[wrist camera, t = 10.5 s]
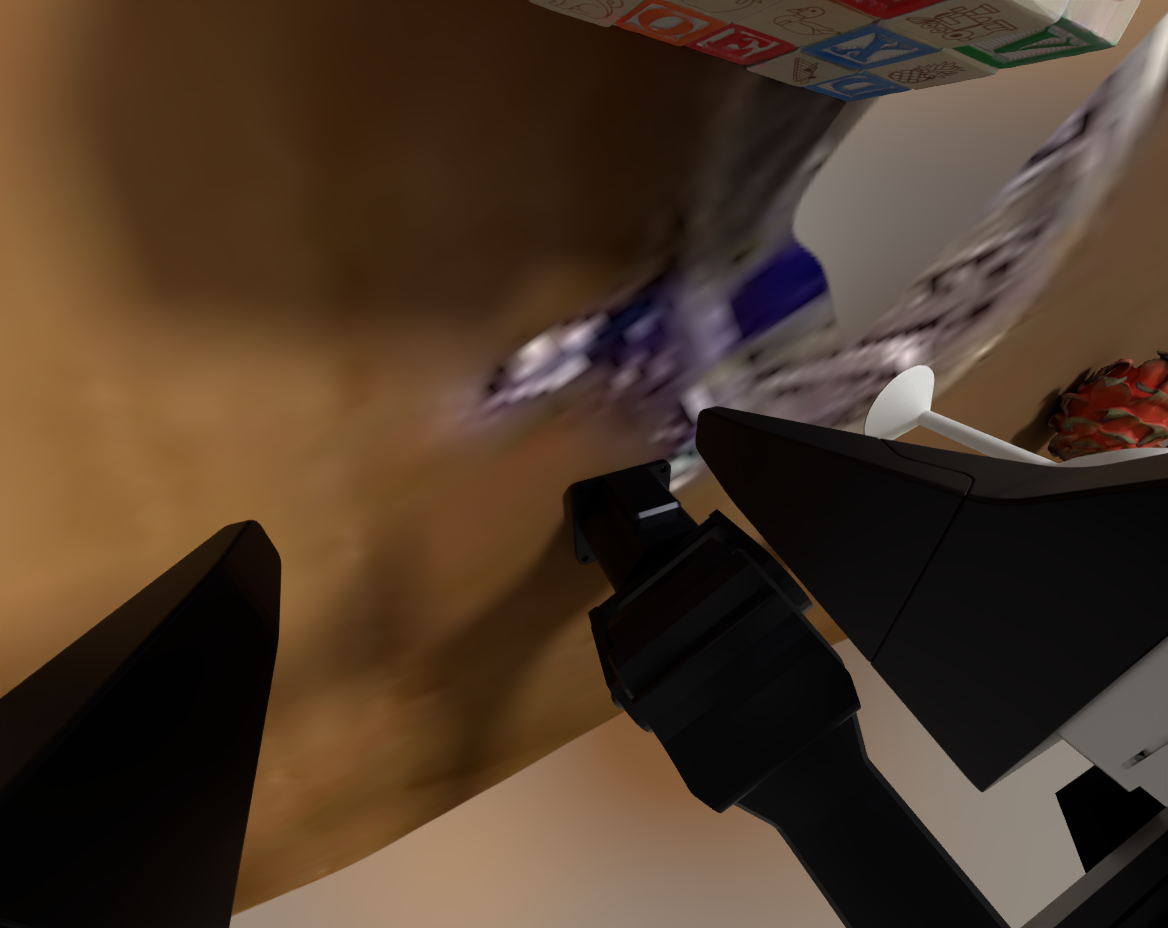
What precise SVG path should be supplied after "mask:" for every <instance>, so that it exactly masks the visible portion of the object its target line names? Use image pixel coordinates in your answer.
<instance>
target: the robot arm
mask: <svg viewBox="0 0 1168 928" xmlns="http://www.w3.org/2000/svg"><path fill="white" fill-rule="evenodd" d="M695 442H696V448H697V450H698V452H699V453H700V455H701V456H702V458H703V459H704V461H705V462H706V464H707V465H708V467H709V468H710V470H711V471H712V473H713V474H714V476H715V477H716V479H717V480H718V481H719V483H720V484H721V486H722V487H723V489H724V490H725V492H726V493H727V494H728V496H729V497H730V499H731V500H732V501H733V502H734V503H735V505H736V506H737V507H738V508H739V509H740V511H741V512H742V513H743V514H744V515H745V517H746V518H747V519H748V520H749V521H750V522H751V524H752V525H753V526H754V527H755V528H756V529H757V531H758V532H759V533H760V534H761V535H762V537H763V538H764V539H765V540H766V541H767V542H768V544H769V545H770V546H771V547H772V548H773V550H774V551H775V552H776V553H777V554H778V555H779V557H780V558H781V559H782V560H783V561H784V562H785V564H786V565H787V566H788V567H789V568H790V570H791V571H792V572H793V573H794V574H795V575H796V577H797V578H798V579H799V580H800V581H801V582H802V584H803V585H804V586H805V587H806V588H807V590H808V591H809V592H810V593H811V594H812V595H813V597H814V598H815V599H816V600H817V601H818V602H819V604H820V605H821V606H822V607H823V608H824V610H825V611H826V612H827V613H828V614H829V615H830V617H831V618H832V619H833V620H834V621H835V623H836V624H837V625H838V626H839V627H840V628H841V630H842V631H843V632H844V633H845V634H846V635H847V637H848V638H849V639H850V640H851V641H852V643H853V644H854V645H855V646H856V647H857V648H858V649H859V651H860V652H861V653H862V654H863V655H864V657H865V658H866V659H867V660H868V661H869V662H871V665H872V666H873V668H874V669H875V670H876V671H877V672H878V673H879V675H880V676H881V677H882V678H883V679H884V681H885V682H886V683H887V684H888V685H889V687H890V688H891V689H892V690H893V691H894V692H895V693H896V695H897V696H898V697H899V698H900V699H901V700H902V702H903V703H904V704H905V705H906V706H907V708H908V709H909V710H910V711H911V712H912V714H913V715H914V716H915V717H916V718H917V719H918V721H919V722H920V723H921V724H922V725H923V727H924V728H925V729H926V730H927V731H928V732H929V734H930V735H931V736H932V737H933V738H934V740H935V741H936V742H937V743H938V744H939V745H940V747H941V748H942V749H943V750H944V751H945V752H946V754H947V755H948V756H949V757H950V758H951V760H952V761H953V762H954V763H955V764H956V766H958V768H959V769H960V770H961V771H962V772H963V774H964V775H965V776H966V777H967V778H968V779H969V780H970V782H971V783H972V784H973V785H974V786H975V787H976V788H977V789H978V790H980V791H981V792H984V791H986V790H987V789H989V788H990V787H992V786H993V785H995V784H996V783H998V782H999V781H1001V780H1002V779H1004V778H1005V777H1007V776H1008V775H1010V774H1011V773H1013V772H1014V771H1016V770H1017V769H1019V768H1020V767H1022V766H1023V765H1025V764H1026V763H1028V762H1029V761H1031V760H1032V759H1033V758H1035V757H1037V756H1038V755H1040V754H1041V753H1043V752H1044V751H1046V750H1047V749H1049V748H1050V747H1051V746H1053V745H1054V744H1056V743H1057V742H1059V741H1060V740H1062V739H1063V740H1065V741H1066V742H1067V743H1068V744H1069V745H1071V746H1072V747H1073V748H1074V749H1076V750H1077V751H1078V752H1079V753H1081V754H1082V755H1083V756H1084V757H1086V758H1087V759H1088V760H1089V761H1090V762H1092V763H1093V764H1094V766H1092V767H1091V768H1090V769H1089V770H1087V771H1086V772H1084V773H1083V774H1081V775H1080V776H1079V777H1077V778H1076V779H1074V780H1073V781H1072V782H1070V783H1069V784H1067V785H1066V786H1065V787H1063V788H1062V789H1061V790H1059V791H1058V792H1056V793H1055V794H1056V796H1057V799H1058V802H1059V805H1060V807H1061V810H1062V812H1063V815H1064V817H1065V820H1066V823H1067V826H1068V828H1069V831H1070V833H1071V836H1072V839H1073V841H1074V844H1075V846H1076V849H1077V852H1078V854H1079V857H1080V860H1081V862H1082V865H1083V867H1084V870H1085V872H1086V874H1085V875H1084V876H1083V877H1082V878H1080V879H1079V880H1078V881H1077V882H1075V883H1074V884H1073V885H1072V886H1071V887H1069V888H1068V889H1067V890H1066V891H1065V892H1063V893H1062V894H1061V895H1060V896H1059V897H1057V898H1056V899H1055V900H1054V901H1053V902H1051V903H1050V904H1049V905H1048V906H1047V907H1045V908H1044V909H1043V910H1042V911H1041V912H1039V913H1038V914H1037V915H1036V916H1035V917H1033V918H1032V919H1031V920H1030V921H1028V922H1027V923H1026V924H1025V925H1024V926H1022V927H1021V928H1168V453H1164V454H1159V455H1154V456H1148V457H1143V458H1138V459H1133V460H1128V461H1122V462H1117V463H1112V464H1106V465H1100V466H1090V467H1054V466H1046V465H1038V464H1032V463H1025V462H1019V461H1012V460H1006V459H1000V458H993V457H987V456H980V455H974V454H967V453H961V452H955V451H949V450H943V449H937V448H931V447H926V446H920V445H915V444H909V443H904V442H899V441H893V440H888V439H883V438H881V439H878V438H877V437H873V436H867V435H862V434H857V433H852V432H847V431H842V430H837V429H832V428H826V427H821V426H816V425H811V424H806V423H801V422H796V421H791V420H785V419H780V418H775V417H770V416H765V415H760V414H755V413H750V412H744V411H739V410H734V409H729V408H724V407H719V406H716V407H711V408H707V409H703V410H702V411H700V413H699V415H698V421H697V430H696V440H695ZM663 466H664V467H663ZM662 467H663V468H662ZM661 468H662V469H661ZM670 473H671V465H670V464H669V463H668V462H667V461H666V460H664V459H662V460H658V461H654V462H650V463H646V464H643V465H639V466H635V467H631V468H628V469H624V470H620V471H616V472H613V473H609V474H605V475H602V476H598V477H594V478H591V479H587V480H583V481H579V482H577V483H575V484H574V485H573V486H572V487H571V501H572V514H573V526H574V538H575V551H576V558H577V560H578V562H579V563H580V564H587V563H590V562H593V561H596V560H597V561H598V562H599V564H600V566H601V568H602V569H603V571H604V573H605V575H606V577H607V578H608V580H609V582H610V584H611V585H612V587H613V589H614V591H615V592H616V593H615V594H613V595H612V596H611V597H610V598H609V599H607V600H606V601H605V602H604V603H602V604H601V605H600V606H599V607H597V606H596V607H595V608H593V609H592V610H591V611H590V612H588V614H589V618H590V622H591V625H592V626H591V629H592V633H593V636H594V640H595V644H596V647H597V651H598V655H599V658H600V662H601V666H602V669H603V673H604V676H605V680H606V684H607V686H608V688H609V690H610V691H611V698H612V701H613V702H614V704H615V705H616V706H617V707H618V708H620V709H624V710H625V711H626V712H627V713H628V715H629V716H630V717H631V718H632V719H633V720H634V722H635V723H636V724H637V725H639V726H640V727H641V728H642V729H643V730H645V731H647V732H650V733H652V732H654V733H655V735H656V736H657V738H658V739H659V741H660V742H661V743H662V745H663V747H664V748H665V750H666V751H667V753H668V755H669V756H670V758H671V760H672V761H673V763H674V765H675V766H676V768H677V770H678V772H679V773H680V775H681V777H682V778H683V780H684V782H685V783H686V785H687V787H688V789H689V790H690V792H691V793H692V794H693V795H694V796H695V797H697V798H698V799H699V800H701V801H702V802H703V803H705V804H706V805H708V806H709V807H710V808H712V809H713V810H715V811H716V812H718V813H722V812H724V811H725V810H727V809H728V808H729V807H731V806H732V805H733V804H734V805H736V806H737V807H739V808H741V809H743V810H745V811H747V812H748V813H750V814H752V815H754V816H756V817H758V818H760V819H761V820H763V821H765V822H767V823H769V824H770V825H772V826H774V827H775V828H776V829H777V831H778V832H779V833H780V835H781V836H782V837H783V839H784V840H785V841H786V843H787V844H788V845H789V847H790V848H791V850H792V851H793V853H794V854H795V855H796V857H797V858H798V860H799V861H800V863H801V864H802V865H803V867H804V868H805V870H806V871H807V873H808V874H809V875H810V877H811V878H812V880H813V881H814V883H815V884H816V885H817V887H818V888H819V890H820V891H821V892H822V894H823V895H824V897H825V898H826V900H827V901H828V903H829V904H830V905H831V907H832V908H833V910H834V911H835V912H836V914H837V915H838V917H839V918H840V920H841V921H842V923H843V924H844V925H845V927H846V928H1011V927H1010V926H1009V925H1008V924H1007V923H1006V921H1005V920H1004V919H1003V918H1002V917H1001V916H1000V914H999V913H998V912H997V911H996V910H995V909H994V907H993V906H992V905H991V904H990V902H989V901H988V900H987V899H986V898H985V896H984V895H983V894H982V893H981V892H980V891H979V889H978V888H977V887H976V886H975V885H974V883H973V882H972V881H971V880H970V879H969V877H968V876H967V875H966V874H965V873H964V872H963V870H962V869H961V868H960V867H959V866H958V864H957V863H956V862H955V861H954V860H953V859H952V857H951V856H950V855H949V854H948V852H947V851H946V850H945V849H944V848H943V847H942V845H941V844H940V843H939V842H938V841H937V839H936V838H935V837H934V836H933V835H932V833H931V832H930V831H929V830H928V829H927V827H926V826H925V825H924V824H923V823H922V822H921V820H920V819H919V818H918V817H917V816H916V814H915V813H914V812H913V811H912V810H911V808H910V807H909V806H908V805H907V804H906V802H905V801H904V800H903V799H902V798H901V797H900V796H899V794H898V793H897V792H896V791H895V789H894V788H893V787H892V786H891V785H890V783H889V782H888V781H887V780H886V779H885V778H884V776H883V775H882V774H881V773H880V772H879V770H878V769H877V768H876V767H875V766H874V765H873V763H872V762H871V761H870V760H869V758H868V756H867V753H866V749H865V745H864V741H863V737H862V733H861V729H860V725H859V721H858V717H857V713H856V712H857V711H858V710H860V709H861V705H860V701H859V698H858V696H857V692H856V689H855V686H854V684H853V681H852V678H851V675H850V674H849V672H848V671H847V670H846V668H845V666H844V664H843V661H842V659H841V658H840V656H839V655H838V654H837V652H836V651H835V650H834V649H833V648H832V647H831V646H830V645H829V643H828V642H827V641H826V640H825V639H824V638H823V637H822V635H821V634H820V633H819V632H818V631H817V630H816V629H815V627H814V626H813V625H812V624H811V623H810V622H809V621H808V620H807V618H806V617H805V616H804V614H805V613H806V612H808V611H809V610H810V609H812V608H813V607H814V606H813V604H812V602H811V600H810V599H809V598H808V596H807V595H806V593H805V592H804V591H803V590H802V588H801V587H800V586H799V585H798V584H797V582H796V581H795V580H794V579H793V578H792V577H791V576H790V574H789V573H788V572H787V571H786V570H785V569H784V568H783V567H782V566H781V565H780V564H779V563H778V562H777V561H776V560H775V559H774V558H773V557H772V556H771V555H770V554H769V553H768V552H767V551H766V550H765V549H764V548H763V547H762V546H760V545H759V544H758V543H757V542H756V541H755V540H753V539H752V538H751V537H750V536H749V535H747V534H746V533H745V532H744V531H743V530H741V529H740V528H739V527H738V526H737V525H735V524H734V523H733V522H732V521H731V520H729V519H728V518H727V517H726V516H725V515H723V514H722V513H721V512H720V511H719V510H717V509H716V510H715V511H714V512H712V513H711V514H710V515H709V518H708V519H706V520H705V521H704V522H703V523H701V524H700V525H698V524H697V523H696V522H695V521H694V520H693V519H692V518H691V516H690V515H689V514H688V513H687V512H686V511H685V510H684V509H683V508H682V507H681V503H680V502H679V500H678V499H677V498H676V497H675V496H674V495H673V494H672V493H671V492H670V491H669V485H670ZM580 489H582V490H581V491H580V492H577V491H578V490H580ZM584 556H585V557H584ZM280 592H281V559H280V556H279V553H278V551H277V550H276V548H275V547H274V545H273V543H272V542H271V540H270V539H269V537H268V536H267V534H266V532H265V531H264V529H263V528H262V526H261V525H260V524H259V523H258V522H257V521H255V520H247V521H242V522H238V523H234V524H230V525H227V526H225V527H223V528H222V529H221V530H220V531H218V532H217V533H216V534H214V535H213V536H212V537H210V538H209V539H208V540H206V541H205V542H204V543H203V544H201V545H200V546H199V547H197V548H196V549H195V550H193V551H192V552H191V553H190V554H188V555H187V556H186V557H184V558H183V559H182V560H180V561H179V562H178V563H176V564H175V565H174V566H173V567H171V568H170V569H169V570H167V571H166V572H165V573H163V574H162V575H161V576H160V577H158V578H157V579H156V580H154V581H153V582H152V583H150V584H149V585H148V586H146V587H145V588H144V589H143V590H141V591H140V592H139V593H137V594H136V595H135V596H133V597H132V598H131V599H130V600H128V601H127V602H126V603H124V604H123V605H122V606H120V607H119V608H118V609H116V610H115V611H114V612H113V613H111V614H110V615H109V616H107V617H106V618H105V619H103V620H102V621H101V622H100V623H98V624H97V625H96V626H94V627H93V628H92V629H90V630H89V631H88V632H86V633H85V634H84V635H83V636H81V637H80V638H79V639H77V640H76V641H75V642H73V643H72V644H71V645H70V646H68V647H67V648H66V649H64V650H63V651H62V652H60V653H59V654H58V655H56V656H55V657H54V658H53V659H51V660H50V661H49V662H47V663H46V664H45V665H43V666H42V667H41V668H40V669H38V670H37V671H36V672H34V673H33V674H32V675H30V676H29V677H28V678H26V679H25V680H24V681H23V682H21V683H20V684H19V685H17V686H16V687H15V688H13V689H12V690H11V691H10V692H8V693H7V694H6V695H4V696H3V697H2V698H0V928H229V926H230V920H231V915H232V909H233V903H234V897H235V891H236V886H237V880H238V874H239V868H240V862H241V857H242V851H243V845H244V839H245V833H246V828H247V822H248V816H249V810H250V804H251V799H252V793H253V787H254V781H255V775H256V770H257V764H258V758H259V752H260V746H261V741H262V735H263V729H264V723H265V717H266V712H267V706H268V700H269V694H270V689H271V683H272V677H273V671H274V665H275V660H276V654H277V647H278V639H279V622H280Z"/></svg>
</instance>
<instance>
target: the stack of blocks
mask: <svg viewBox="0 0 1168 928" xmlns="http://www.w3.org/2000/svg"><path fill="white" fill-rule="evenodd" d="M526 1H529V2H531V3H533V4H536V5H539V6H542V7H544V8H547V9H549V10H552V11H555V12H558V13H561V14H565V15H568V16H571V17H574V18H577V19H580V20H584V21H587V22H590V23H594V24H597V25H599V26H603V27H610V26H612V25H616V26H618V27H620V28H622V29H625V30H630V31H633V32H636V33H641V34H643V35H645V36H648V37H651V38H654V39H657V40H661V41H664V42H667V43H670V44H673V45H676V46H683V45H685V46H687V47H689V48H692V49H695V50H698V51H701V52H703V53H706V54H709V55H713V56H716V57H719V58H723V59H725V60H728V61H732V62H735V63H737V64H742V65H746V68H747V70H748V71H750V72H753V73H757V74H760V75H763V76H766V77H769V78H772V79H775V80H778V81H781V82H784V83H787V84H790V85H793V86H797V87H804V88H806V89H809V90H812V91H815V92H818V93H821V94H824V95H828V96H831V97H834V98H838V99H840V100H843V101H856V100H861V99H866V98H871V97H876V96H883V95H887V94H892V93H899V92H904V91H908V90H911V89H915V90H917V89H923V88H928V87H933V86H939V85H945V84H950V83H956V82H961V81H965V80H970V79H976V78H982V77H986V76H990V75H994V74H995V73H996V72H997V71H998V70H999V69H1003V68H1012V67H1016V66H1021V65H1028V64H1033V63H1037V62H1042V61H1047V60H1052V59H1057V58H1062V57H1069V56H1075V55H1080V54H1084V53H1087V52H1093V51H1099V50H1103V49H1107V48H1111V47H1115V45H1116V44H1117V42H1118V40H1119V39H1120V37H1121V36H1122V34H1123V32H1124V30H1125V29H1126V27H1127V25H1128V23H1129V21H1130V20H1131V18H1132V16H1133V14H1134V12H1135V11H1136V9H1137V7H1138V5H1139V3H1140V1H1141V0H526Z"/></svg>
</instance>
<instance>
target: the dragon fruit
mask: <svg viewBox="0 0 1168 928" xmlns="http://www.w3.org/2000/svg"><path fill="white" fill-rule="evenodd" d="M1157 353H1158V355H1160V356H1161V357H1160V359H1159V358H1156V359H1153V360H1148V361H1146V362H1144V363H1143V365H1141V366H1139V367H1137V368H1134V367H1133V361H1132V360H1131V359H1120V360H1118V361H1117V362H1115V364H1114V363H1112V364H1113V365H1112V364H1111V366H1106V367H1104V368H1101V370H1100V371H1098V372H1097V374H1096V375H1095V376H1094V377H1092V378H1091V379H1090V380H1087V381H1085V382H1083V383H1082V384H1081V385H1080V386H1079V388H1078V390H1077V393H1076V394H1074V393H1065V394H1063V395H1061V398H1062V402H1061V404H1060V407H1061V408H1062V410H1064V411H1063V412H1058V413H1056V414H1053V415H1052V416H1051V417H1050V419H1049V421H1048V426H1049V427H1050V428H1052V429H1055V430H1056V432H1058V434H1057V435H1056V436H1055V437H1053V438H1052V439H1051V440H1050V443H1049V446H1048V451H1049V452H1050V453H1051V455H1053V456H1054V457H1057V456H1059V458H1060V459H1062V460H1063V461H1064V462H1065V461H1068V460H1070V459H1073V458H1076V457H1081V456H1087V455H1093V454H1098V453H1104V452H1109V451H1115V450H1121V449H1134V448H1164V447H1163V446H1162V445H1160V442H1161V441H1163V440H1165V439H1168V352H1165V351H1157ZM1116 367H1117V368H1116ZM1113 369H1114V370H1113ZM1112 370H1113V371H1112ZM1110 371H1111V372H1110ZM1109 372H1110V373H1109ZM1107 373H1109V374H1107ZM1106 374H1107V375H1106ZM1104 375H1105V376H1104ZM1100 376H1102V377H1100ZM1099 378H1100V379H1099ZM1165 448H1168V446H1166V447H1165Z"/></svg>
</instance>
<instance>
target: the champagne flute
mask: <svg viewBox="0 0 1168 928" xmlns="http://www.w3.org/2000/svg"><path fill="white" fill-rule="evenodd" d="M933 387H934V374H933V372H932V370H931V369H930V368H929V367H927V366H921V365H919V366H915V367H912V368H910V369H907V370H905V371H904V372H902V373H901V374H899V375H898V376H897V377H896V378H894V379H893V380H892V381H891V382H890V383H889V384H888V385H887V386H886V387H885V388H884V389H883V391H882V392H881V393H880V394H879V396H878V397H877V399H876V400H875V402H874V403H873V405H872V407H871V409H870V411H869V413H868V416H867V419H866V423H865V435H867V436H873V437H877V438H878V439H881V438H883V439H888V440H894V439H895V438H897V437H899V436H901V435H902V434H904V433H906V432H908V431H909V430H911V429H913V428H915V427H916V426H918V425H921V426H923V427H925V428H928V429H930V430H932V431H934V432H937V433H939V434H941V435H943V436H946V437H948V438H950V439H952V440H955V441H957V442H959V443H961V444H964V445H966V446H968V447H970V448H972V449H975V450H977V451H979V452H981V453H984V454H986V455H988V456H990V457H993V458H1000V459H1006V460H1012V461H1019V462H1025V463H1032V464H1038V465H1046V466H1054V467H1090V466H1100V465H1106V464H1112V463H1117V462H1122V461H1128V460H1133V459H1138V458H1143V457H1148V456H1154V455H1159V454H1164V453H1168V448H1134V449H1121V450H1115V451H1109V452H1104V453H1098V454H1093V455H1087V456H1081V457H1076V458H1073V459H1070V460H1068V461H1065V462H1062V463H1059V464H1058V463H1055V462H1053V461H1051V460H1048V459H1046V458H1043V457H1041V456H1038V455H1036V454H1034V453H1031V452H1029V451H1026V450H1024V449H1021V448H1019V447H1017V446H1014V445H1012V444H1009V443H1007V442H1004V441H1002V440H1000V439H997V438H995V437H992V436H990V435H987V434H985V433H983V432H980V431H978V430H975V429H973V428H970V427H968V426H966V425H963V424H961V423H958V422H956V421H953V420H951V419H949V418H946V417H944V416H941V415H939V414H936V413H934V412H932V411H930V407H931V400H932V393H933Z"/></svg>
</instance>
